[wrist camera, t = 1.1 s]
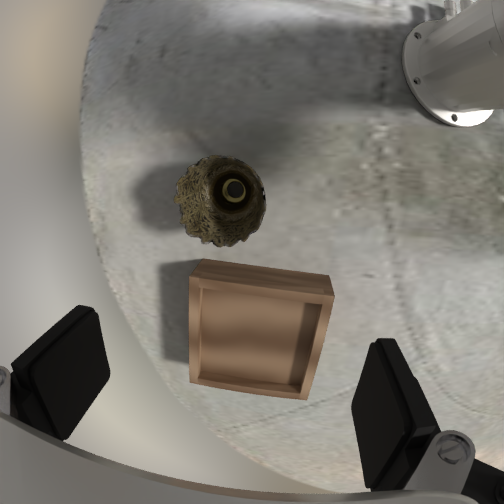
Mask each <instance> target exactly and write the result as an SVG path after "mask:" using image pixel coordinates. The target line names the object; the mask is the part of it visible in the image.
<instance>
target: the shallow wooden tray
mask: <svg viewBox="0 0 504 504" xmlns="http://www.w3.org/2000/svg"><path fill="white" fill-rule="evenodd" d="M334 298H335V295H334V292H333V288H332V284H331V280H330V277H329V275H322V274H314V273H306V272H299V271H291V270H283V269H276V268H268V267H261V266H253V265H246V264H239V263H231V262H224V261H217V260H210V259H202V260H201V262H200V263H199V264H198V266H197V267H196V268H195V270H194V271H193V272H192V273H191V275H190V276H189V375H190V383H194V384H199V385H204V386H209V387H215V388H220V389H226V390H232V391H238V392H244V393H250V394H257V395H265V396H272V397H281V398H289V399H299V400H307V399H308V396H309V392H310V389H311V386H312V382H313V379H314V375H315V372H316V368H317V365H318V361H319V357H320V354H321V350H322V346H323V343H324V339H325V335H326V331H327V327H328V323H329V319H330V315H331V310H332V306H333V302H334Z"/></svg>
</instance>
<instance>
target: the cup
mask: <svg viewBox="0 0 504 504" xmlns="http://www.w3.org/2000/svg"><path fill="white" fill-rule="evenodd" d="M187 170H188V171H187V172H186V173H185V174H184V175H183V176H182V177H181V178H180V179H179V181H178V182H177V185H176V195H175V197H174V203H175V204H179V206H180V210H179V211H180V213H181V215H182V216H181V219H180V223H181V224H182V225H185V229H186V233H187V234H188V235H189V236H191V237H197V238H200V239H201V242H202V244H209V243H210V242H213V244H214V245H216V246H217V247H222V246H225V245H226V246H228V247H232V246H234V245H235V244H236V243H238V241H239V240H242V242H245V241H246V240H247V239H248V237H249V235H250V234H252V233H254V232H256V231H257V230H258V229H259V227H260V225H261V223H262V220H263V216H264V214H265V211H266V199H265V192H264V187H263V184H262V182H261V180H260V178H259V176H258V175H257V173H256V172H255V171H254V170H253V169H252V168H251V167H250V166H248V165H247V164H245V163H244V162H242V161H240V160H238V159H236V158H234V157H231V156H227V157H225V156H220V155H212V156H209V157H206V158H203V159H201V160H200V161H198V163H197V164H193V165H192V166H190V167H188V168H187ZM232 182H238V183H240V184H241V185H242V187H243V193H242V195H241V196H239V197H236V198H235V197H232V196H230V195H229V194H228V191H227V189H228V186H229V184H230V183H232Z"/></svg>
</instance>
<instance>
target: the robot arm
mask: <svg viewBox="0 0 504 504" xmlns="http://www.w3.org/2000/svg"><path fill="white" fill-rule="evenodd" d="M444 7H445V12H446V16H445V17H444V18H442V19H441V20H432V21H426V22H424V23H421V24H419V25H418V26H417V27H415V28H414V29H413V30H412V31H411V32H410V33H409V34H408V36H407V38H406V40H405V42H404V45H403V49H402V65H403V71H404V74H405V77H406V80H407V83H408V85H409V87H410V89H411V91H412V93H413V94H414V96H415V97H416V99H417V100H418V102H419V103H420V104H421V105H422V106H423V107H424V108H425V109H426V110H427V111H428V112H429V113H430V114H431V115H433V116H434V117H435V118H437V119H438V120H440V121H442V122H443V123H446V124H449V125H451V126H456V127H472V126H477V125H479V124H481V123H483V122H484V121H485V120H486V119H488V118H489V117H490V115H491V114H492V112H493V111H494V110H497V109H504V0H477V1H476V2H473V1H471V0H460V8H461V12H460V13H459V14H457V15H456V13H457V10H456V4H455V2H453V1H451V0H445V1H444ZM415 37H416V38H415ZM414 81H415V82H416V84H415V83H414ZM451 117H452V119H451ZM11 366H12V368H13V372H12V373H11V374H10V372H9V370H8V369H7V368H5V367H3V366H0V504H504V472H503V471H501V470H499V469H497V468H494V467H492V466H490V465H488V464H486V463H483V462H481V461H479V460H477V459H475V452H476V451H475V446H474V444H473V442H472V441H471V439H470V438H469V437H467V436H466V435H465V434H463V433H461V432H458V431H454V430H447V431H443V432H441V430H440V428H439V426H438V423H437V421H436V419H435V417H434V414H433V412H432V410H431V408H430V406H429V404H428V401H427V399H426V397H425V395H424V393H423V391H422V389H421V387H420V385H419V382H418V380H417V379H416V378H415V377H414V376H413V374H412V372H411V370H410V368H409V366H408V364H407V362H406V360H405V358H404V356H403V354H402V352H401V350H400V348H399V346H398V344H397V342H396V340H395V339H393V338H378V339H377V340H376V342H372V343H371V344H370V347H369V350H368V354H367V357H366V360H365V364H364V367H363V370H362V373H361V376H360V380H359V383H358V386H357V389H356V392H355V395H354V397H353V400H352V406H351V410H352V416H353V421H354V426H355V431H356V436H357V442H358V447H359V453H360V458H361V464H362V470H363V476H364V482H365V486H366V488H370V489H371V492H361V493H341V494H294V493H273V492H260V491H250V490H241V489H233V488H224V487H219V486H212V485H206V484H201V483H195V482H190V481H185V480H180V479H176V478H172V477H167V476H163V475H159V474H155V473H151V472H147V471H144V470H141V469H137V468H134V467H131V466H127V465H124V464H121V463H118V462H115V461H112V460H109V459H106V458H103V457H100V456H97V455H95V454H92V453H89V452H87V451H84V450H82V449H79V448H77V447H74V446H72V445H70V444H67V443H65V442H63V440H66V439H68V438H69V436H70V435H71V433H72V432H73V430H74V429H75V427H76V426H77V425H78V423H79V421H80V420H81V419H82V417H83V416H84V414H85V413H86V411H87V410H88V408H89V407H90V406H91V404H92V403H93V401H94V400H95V398H96V397H97V395H98V394H99V393H100V391H101V390H102V388H103V387H104V386H105V384H106V383H107V381H108V380H109V378H110V368H109V364H108V360H107V356H106V351H105V346H104V341H103V337H102V332H101V327H100V321H99V316H98V314H97V313H96V312H95V310H94V309H93V308H92V307H88V306H83V305H78V306H76V307H75V308H74V309H72V310H71V311H70V312H69V313H68V314H66V315H65V316H64V317H63V318H62V319H61V320H60V321H58V322H57V323H56V324H55V325H54V326H52V327H51V328H50V329H49V330H48V331H47V332H46V333H44V334H43V335H42V336H41V337H40V338H39V339H38V340H36V341H35V342H34V343H33V344H32V345H31V346H30V347H29V348H28V349H26V350H25V351H24V352H23V353H22V354H21V355H20V356H19V357H18V358H17V359H15V360H14V362H12V363H11Z"/></svg>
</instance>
